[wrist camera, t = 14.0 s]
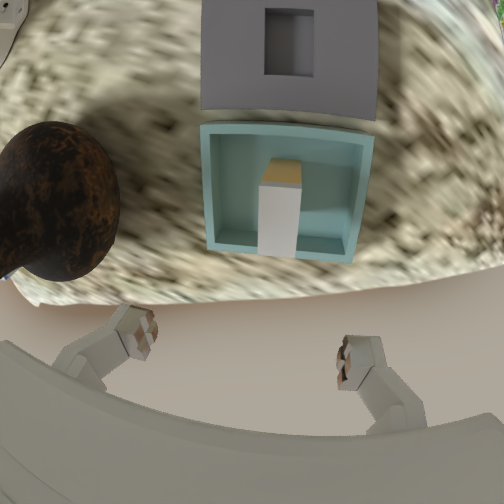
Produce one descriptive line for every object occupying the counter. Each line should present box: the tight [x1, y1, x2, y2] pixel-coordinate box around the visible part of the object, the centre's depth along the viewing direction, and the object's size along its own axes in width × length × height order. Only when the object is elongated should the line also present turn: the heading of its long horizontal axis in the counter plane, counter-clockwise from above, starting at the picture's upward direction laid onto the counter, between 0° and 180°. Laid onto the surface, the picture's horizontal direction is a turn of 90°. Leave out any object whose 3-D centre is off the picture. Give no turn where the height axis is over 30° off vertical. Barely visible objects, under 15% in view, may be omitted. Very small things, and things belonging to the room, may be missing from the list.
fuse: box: [257, 158, 302, 258], centre depth 21 cm, size 5×3×8 cm, turn 0°
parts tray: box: [200, 121, 375, 263], centre depth 23 cm, size 12×14×4 cm
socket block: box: [201, 0, 379, 121], centre depth 17 cm, size 12×14×2 cm
